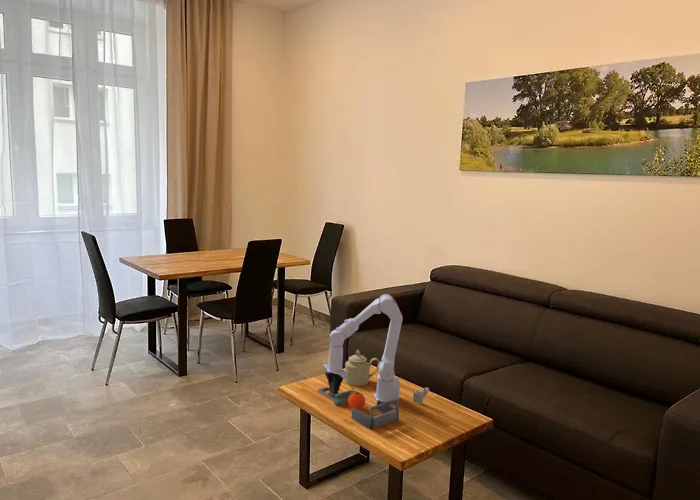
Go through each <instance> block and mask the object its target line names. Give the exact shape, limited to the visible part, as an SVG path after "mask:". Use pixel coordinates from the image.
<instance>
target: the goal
mask: <svg viewBox="0 0 700 500" xmlns="http://www.w3.org/2000/svg"><path fill="white" fill-rule="evenodd" d="M400 402H401V401H400V398H399V399H398V398H397V399H394V400H391V401H388V402H383V401H381V400H376V405H372V406H370V407H369V415H368V414H367V413H365V412H363V411H361V410H360V409H356V408H351V417H350V418H351V419H352V420H354V421H356V422H358V423H359V424H361V425H362V426H364V427H366V428H367V429H369V430H373V429H374V430H375V429H376V428H379V427H382V426H385V425H388V424H390V423H394V422H395V421H398V420H399V417H400ZM394 404H395V405H394ZM392 405H394V406H392ZM375 411H377V412H379V413H380V414H378V415H375Z"/></svg>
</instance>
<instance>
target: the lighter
mask: <svg viewBox="0 0 700 500" xmlns="http://www.w3.org/2000/svg"><path fill="white" fill-rule="evenodd" d="M429 391H430V388H429V387H428V386H427V387H424V389H423V391H422V390H420V389H415V391H413V393H412V394H413V396H412V400H413V401H414V402H413V401H412V402H413V403H415V402H416V403H415V404H417V403H418V404H417V405H419V404H421V405H423V403H424V398H425V397H426V396H427V395H428V393H429Z"/></svg>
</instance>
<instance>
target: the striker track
mask: <svg viewBox="0 0 700 500" xmlns="http://www.w3.org/2000/svg"><path fill="white" fill-rule="evenodd" d="M325 391H328V392H330V388H329V386H324V387H321V388H317V392H318V393H319V392H320V393H319V394H321V395H323V396H324V397H326V398H329V399H330V400H332V401H334V398H335V397H333V396H331V395H329V394H328V392H325ZM338 393H340V392H339V391H338Z"/></svg>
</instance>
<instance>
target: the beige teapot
mask: <svg viewBox="0 0 700 500" xmlns="http://www.w3.org/2000/svg"><path fill="white" fill-rule="evenodd" d="M367 360H368V359H367V358H366V356H364V355H363V354H362V355H361V350H360V349H356V351H355V354H353V355H351V356H349V357H348V360H346V361H345V365H344V366H345V367H344V371H345V372H346V373H348V378H347V379H344V381H345V383H346V384H347V385H349V386H354V387H363V386H366V385H368V384H369V380H370V379H371V377H373V376H375V375H376V373H378V372H379V369H378V364H379V362H380V360H379V359H378V358H377V357H373V358H371V359H370V360H369V362H368V361H367ZM374 361H376V362H377V366H376V368H375V370H374V371H372V373H370V370H371V365H372V363H373V362H374Z"/></svg>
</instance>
